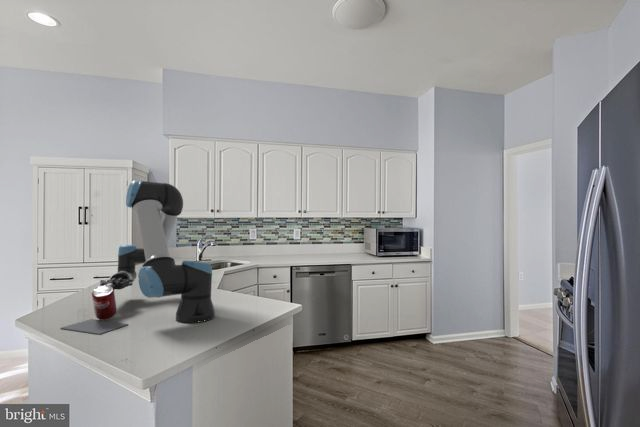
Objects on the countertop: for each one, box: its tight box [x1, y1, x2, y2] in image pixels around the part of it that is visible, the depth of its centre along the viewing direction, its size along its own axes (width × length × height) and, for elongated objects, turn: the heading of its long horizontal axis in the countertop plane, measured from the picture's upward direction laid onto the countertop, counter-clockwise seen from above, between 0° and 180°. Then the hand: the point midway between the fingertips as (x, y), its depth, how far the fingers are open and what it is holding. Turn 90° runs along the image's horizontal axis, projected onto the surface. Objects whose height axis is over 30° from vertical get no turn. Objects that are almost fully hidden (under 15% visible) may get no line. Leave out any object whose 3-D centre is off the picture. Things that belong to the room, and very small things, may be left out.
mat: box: [60, 318, 129, 336], centre depth 124 cm, size 18×12×1 cm, turn 74°
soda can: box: [91, 285, 118, 321], centre depth 132 cm, size 7×7×12 cm
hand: (105, 289), depth 135 cm, fingers closed
